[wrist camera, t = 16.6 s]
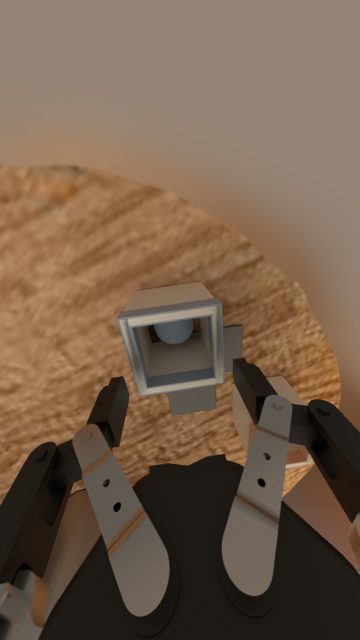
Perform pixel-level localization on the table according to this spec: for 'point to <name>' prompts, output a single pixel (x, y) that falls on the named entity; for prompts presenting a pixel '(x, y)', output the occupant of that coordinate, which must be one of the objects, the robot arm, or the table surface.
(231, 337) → the coasters
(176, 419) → the table surface
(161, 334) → the ball slate
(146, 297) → the tube slate rim
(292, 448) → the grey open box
